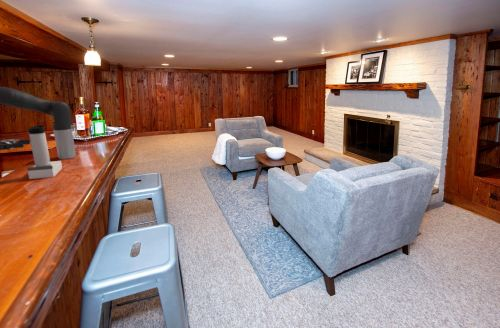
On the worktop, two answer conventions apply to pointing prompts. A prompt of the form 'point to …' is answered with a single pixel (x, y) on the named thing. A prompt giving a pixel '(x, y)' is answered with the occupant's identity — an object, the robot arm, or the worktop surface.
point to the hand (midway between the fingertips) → (26, 143)
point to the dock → (44, 170)
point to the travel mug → (39, 146)
